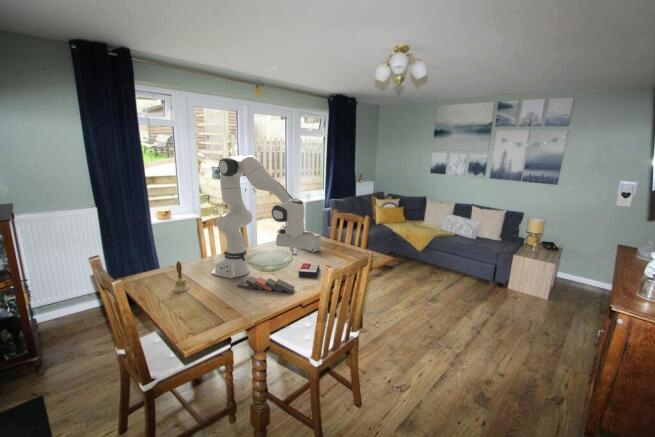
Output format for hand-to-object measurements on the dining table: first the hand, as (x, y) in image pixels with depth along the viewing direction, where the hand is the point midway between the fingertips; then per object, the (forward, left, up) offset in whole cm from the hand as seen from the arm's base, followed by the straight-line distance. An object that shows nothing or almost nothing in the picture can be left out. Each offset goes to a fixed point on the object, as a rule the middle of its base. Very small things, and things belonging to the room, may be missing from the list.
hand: (295, 255), depth 163 cm
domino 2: (-18, 0, -20) cm, 27 cm away
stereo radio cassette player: (-11, +71, -22) cm, 75 cm away
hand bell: (-61, -11, -22) cm, 66 cm away
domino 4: (-7, 0, -20) cm, 21 cm away
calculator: (+1, +28, -22) cm, 35 cm away
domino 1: (-23, 0, -21) cm, 31 cm away
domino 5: (-1, 0, -20) cm, 20 cm away
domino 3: (-13, 0, -20) cm, 24 cm away
